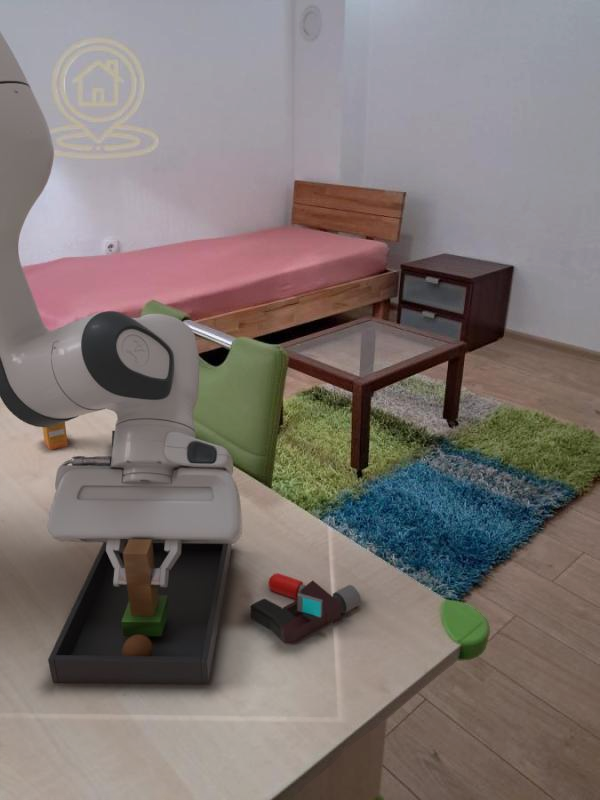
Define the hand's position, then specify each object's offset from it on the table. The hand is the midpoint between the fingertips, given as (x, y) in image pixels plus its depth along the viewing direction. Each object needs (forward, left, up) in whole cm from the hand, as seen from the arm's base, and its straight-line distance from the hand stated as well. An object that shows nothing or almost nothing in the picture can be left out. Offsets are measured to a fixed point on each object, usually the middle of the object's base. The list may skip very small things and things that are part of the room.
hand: (140, 586), depth 65 cm
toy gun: (+17, +5, -7) cm, 19 cm away
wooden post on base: (0, +1, -5) cm, 5 cm away
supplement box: (-25, +43, -7) cm, 50 cm away
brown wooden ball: (0, -4, -5) cm, 6 cm away
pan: (0, +4, -7) cm, 8 cm away
